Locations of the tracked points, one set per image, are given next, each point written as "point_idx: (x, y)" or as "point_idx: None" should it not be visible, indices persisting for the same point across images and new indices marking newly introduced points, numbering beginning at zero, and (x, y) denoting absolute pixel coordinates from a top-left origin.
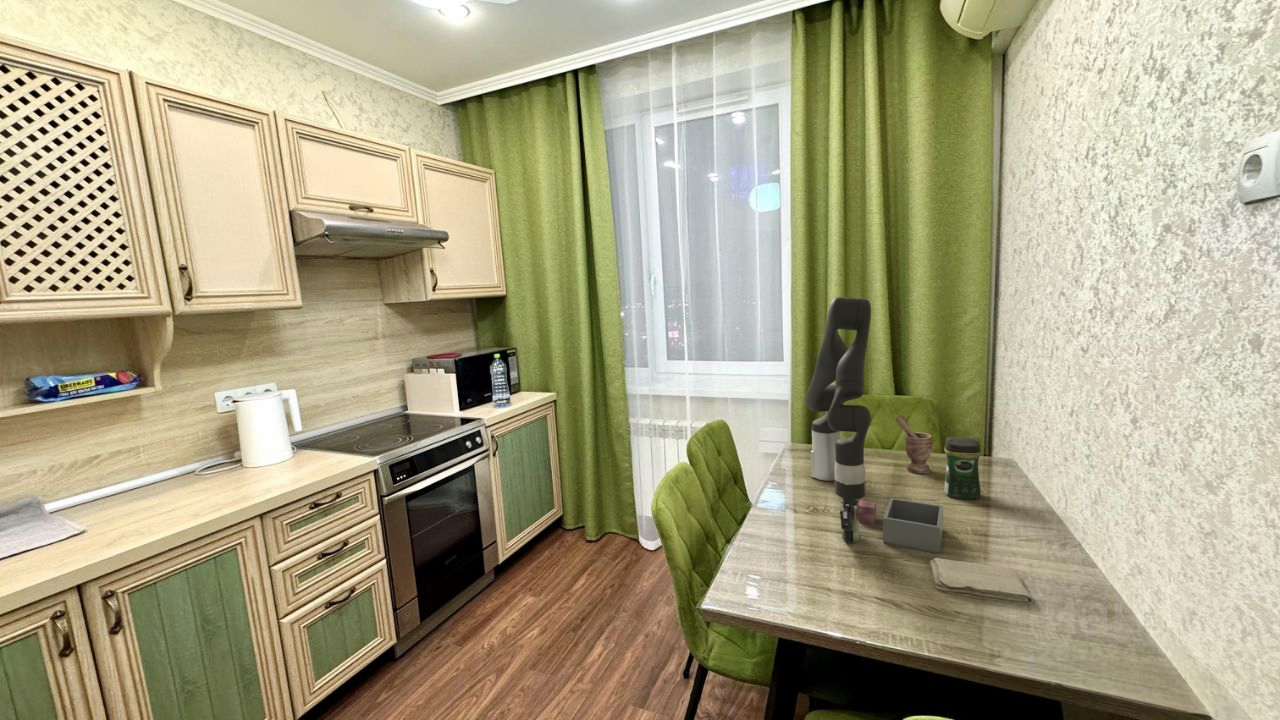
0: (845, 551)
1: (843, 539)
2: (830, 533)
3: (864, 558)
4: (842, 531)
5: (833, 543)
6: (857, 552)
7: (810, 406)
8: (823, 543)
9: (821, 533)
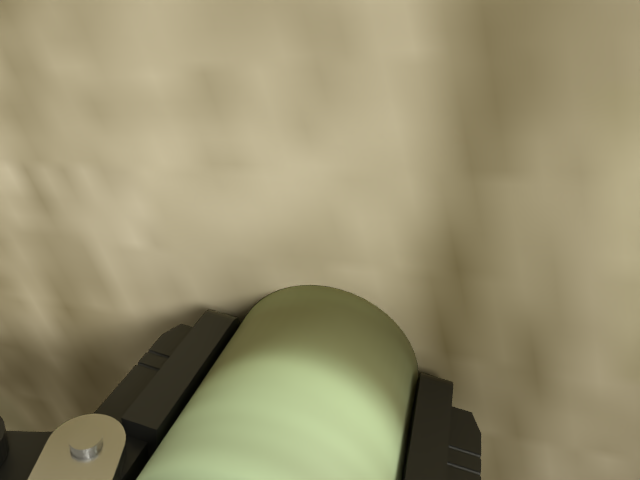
0: (50, 285)
1: (268, 296)
2: (395, 156)
3: (25, 399)
4: (252, 347)
5: (146, 185)
6: (84, 372)
7: None
8: (95, 67)
9: (364, 21)
